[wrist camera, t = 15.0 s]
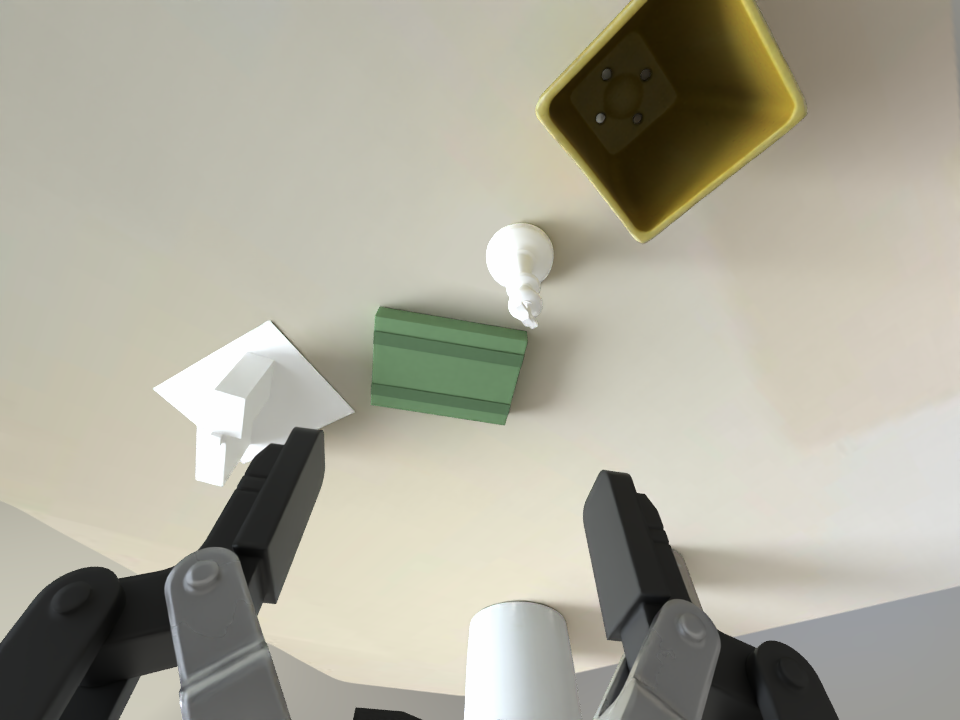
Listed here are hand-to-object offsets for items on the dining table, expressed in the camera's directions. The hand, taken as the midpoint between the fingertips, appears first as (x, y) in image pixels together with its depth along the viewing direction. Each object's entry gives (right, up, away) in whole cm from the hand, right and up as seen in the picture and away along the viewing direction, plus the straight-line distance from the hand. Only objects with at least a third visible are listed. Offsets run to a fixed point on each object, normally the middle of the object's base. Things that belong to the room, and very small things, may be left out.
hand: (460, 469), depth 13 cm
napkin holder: (-20, 0, +29) cm, 35 cm away
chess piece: (+3, +11, +20) cm, 23 cm away
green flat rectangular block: (-2, +3, +25) cm, 26 cm away
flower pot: (+9, +19, +14) cm, 26 cm away
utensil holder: (+6, -34, +50) cm, 61 cm away
